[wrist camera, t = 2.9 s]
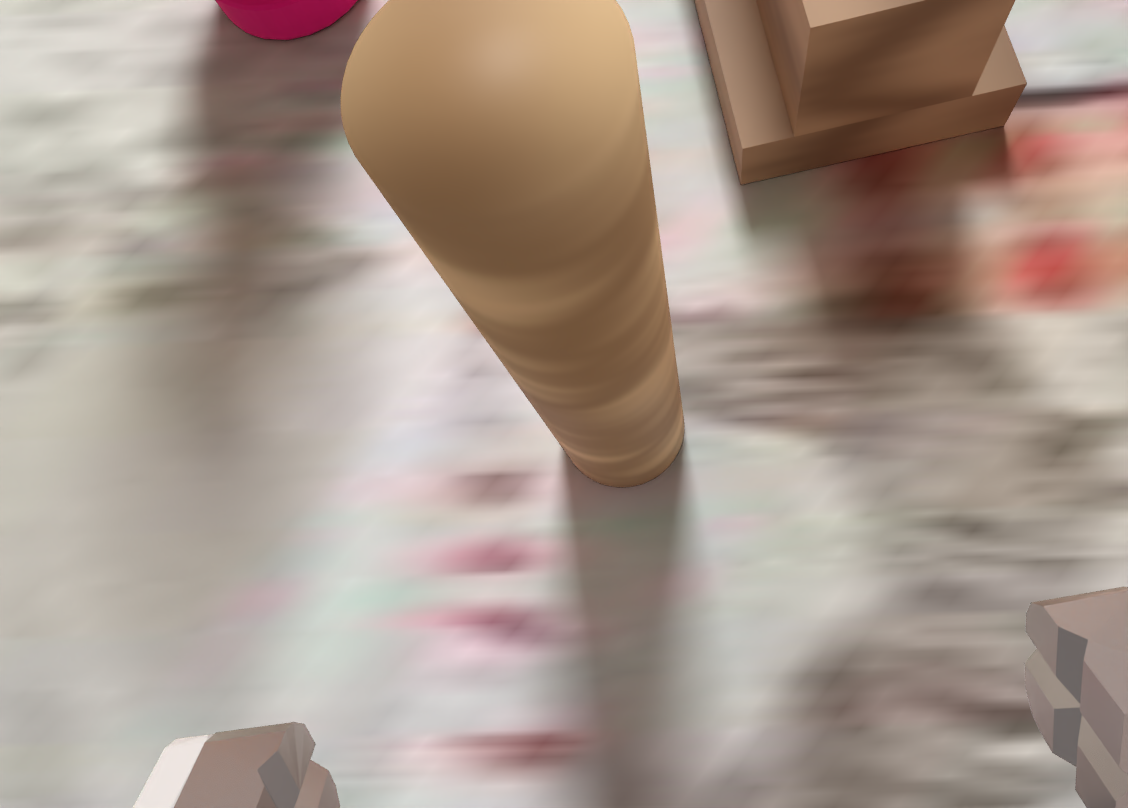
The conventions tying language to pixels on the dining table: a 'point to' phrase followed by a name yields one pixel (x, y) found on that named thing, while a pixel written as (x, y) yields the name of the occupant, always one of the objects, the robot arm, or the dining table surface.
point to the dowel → (532, 205)
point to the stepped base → (855, 76)
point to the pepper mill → (284, 16)
